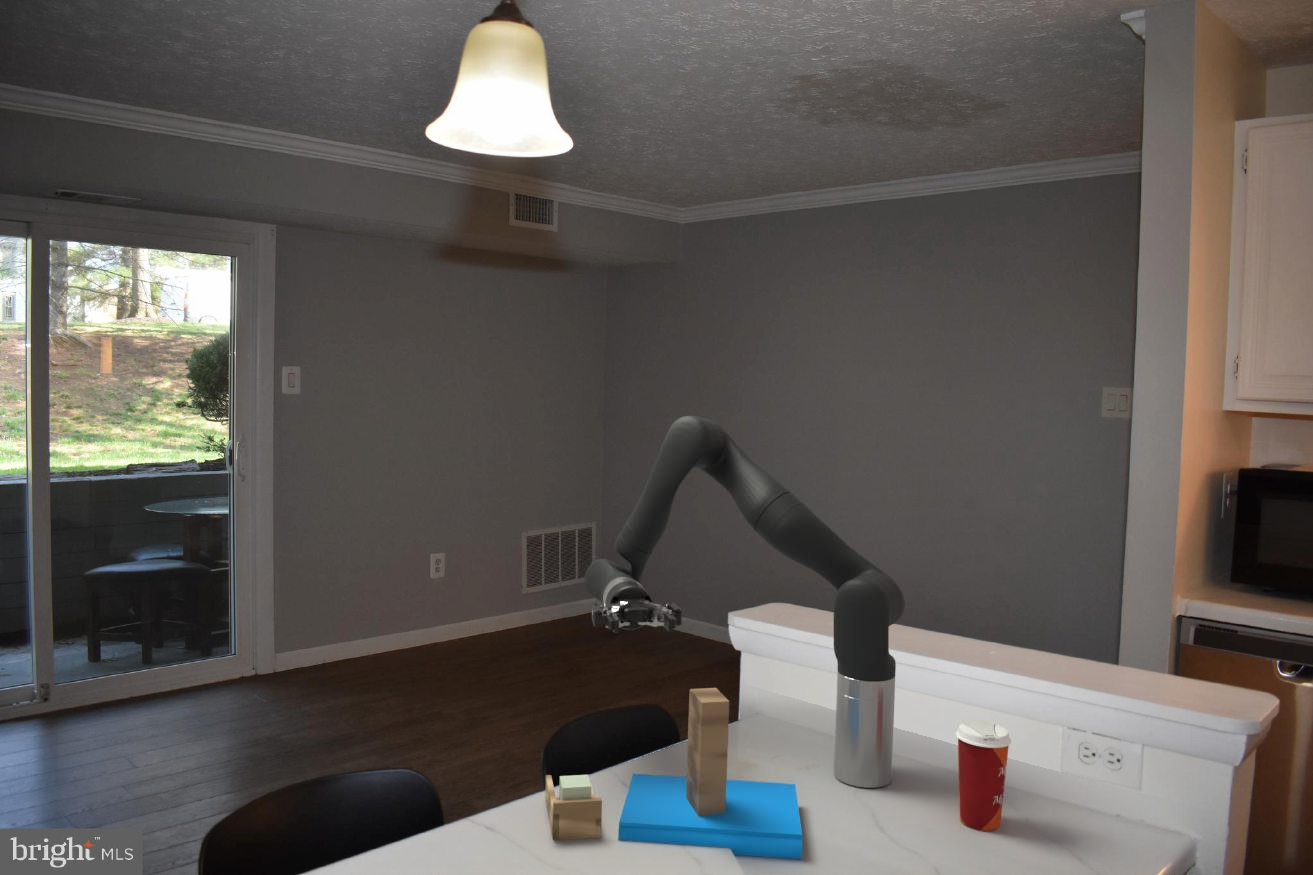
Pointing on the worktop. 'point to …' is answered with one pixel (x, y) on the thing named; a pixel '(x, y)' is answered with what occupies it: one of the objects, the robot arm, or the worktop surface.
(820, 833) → the worktop surface
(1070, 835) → the worktop surface
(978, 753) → the paper cup
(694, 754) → the tall wooden block
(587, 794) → the offcut upper
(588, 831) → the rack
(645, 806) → the book
